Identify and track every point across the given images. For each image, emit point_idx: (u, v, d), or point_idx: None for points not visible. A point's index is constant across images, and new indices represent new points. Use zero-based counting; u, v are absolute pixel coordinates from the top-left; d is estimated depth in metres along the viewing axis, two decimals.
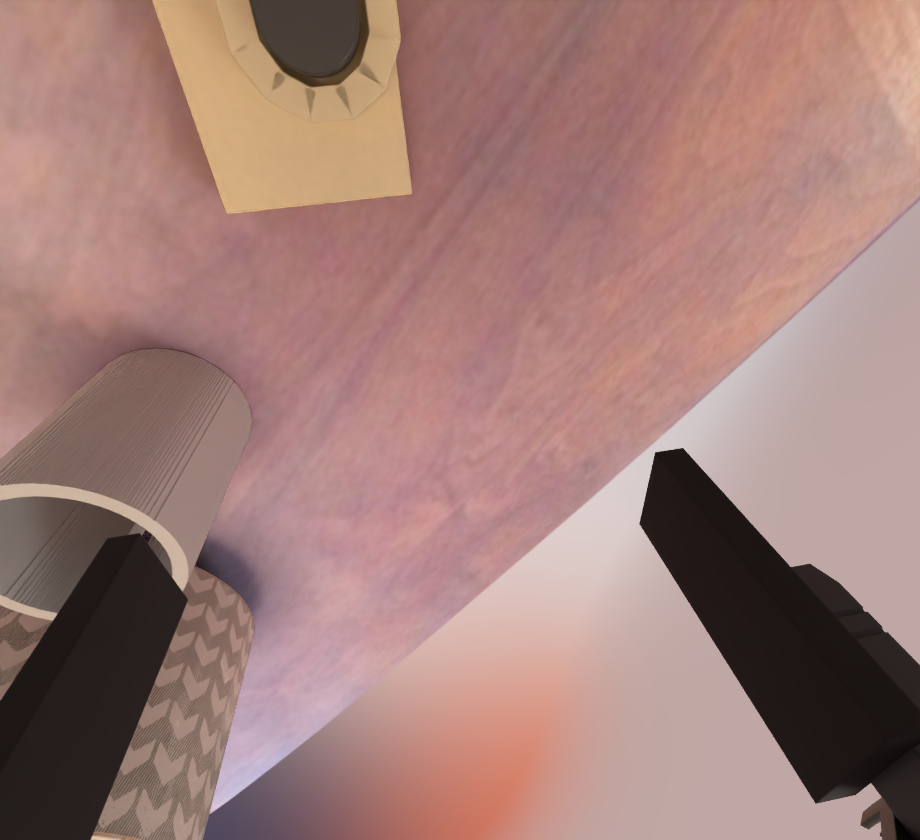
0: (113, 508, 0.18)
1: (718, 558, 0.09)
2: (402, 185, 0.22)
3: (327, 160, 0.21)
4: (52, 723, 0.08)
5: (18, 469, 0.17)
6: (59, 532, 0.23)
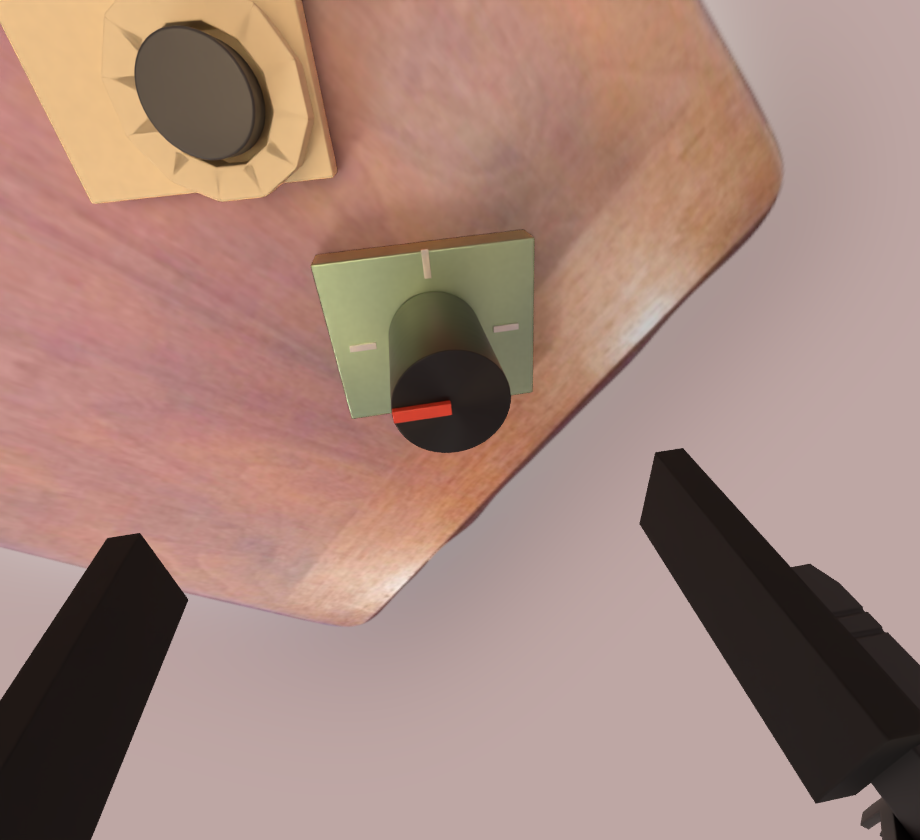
0: None
1: (718, 558, 0.09)
2: (96, 191, 0.18)
3: (85, 88, 0.16)
4: (52, 723, 0.08)
5: None
6: None
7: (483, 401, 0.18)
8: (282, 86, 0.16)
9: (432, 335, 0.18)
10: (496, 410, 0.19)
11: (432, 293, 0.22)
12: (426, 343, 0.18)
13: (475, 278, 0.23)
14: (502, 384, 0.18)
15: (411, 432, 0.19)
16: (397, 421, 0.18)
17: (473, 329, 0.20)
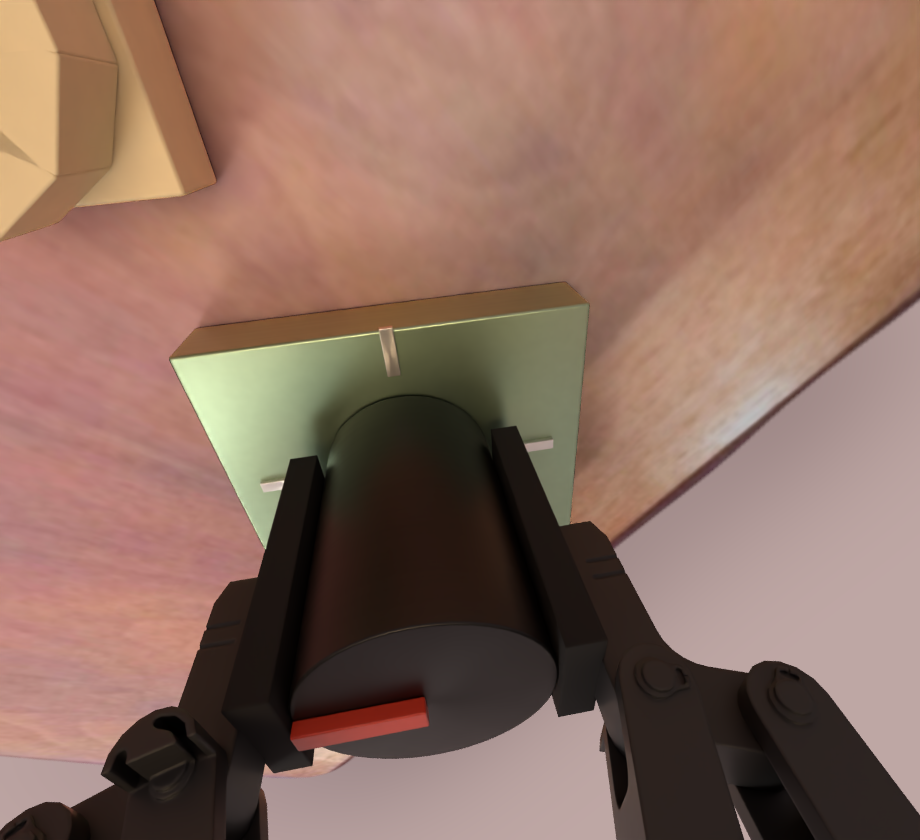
0: None
1: (515, 517, 0.11)
2: None
3: None
4: (301, 583, 0.10)
5: None
6: None
7: (497, 689, 0.08)
8: None
9: (385, 550, 0.08)
10: (525, 697, 0.09)
11: (402, 401, 0.12)
12: (369, 579, 0.08)
13: (481, 372, 0.13)
14: (542, 663, 0.08)
15: (343, 744, 0.09)
16: (305, 748, 0.08)
17: (477, 507, 0.10)
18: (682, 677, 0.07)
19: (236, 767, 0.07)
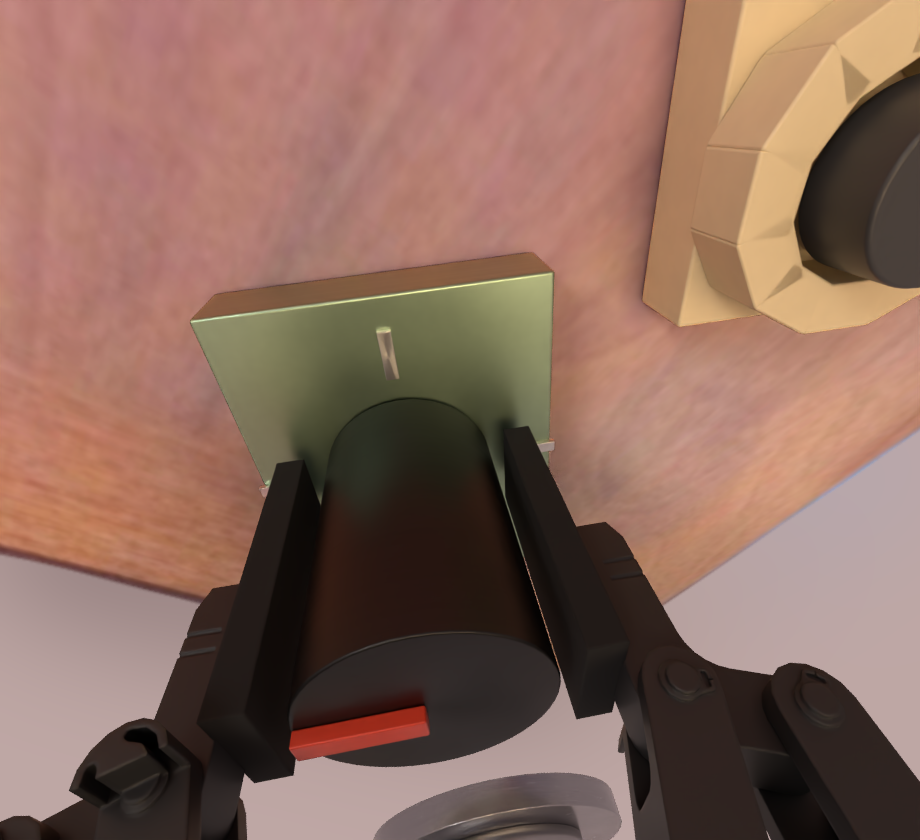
0: None
1: (529, 518, 0.11)
2: None
3: None
4: (283, 590, 0.10)
5: None
6: None
7: (499, 696, 0.08)
8: (852, 303, 0.11)
9: (384, 557, 0.08)
10: (527, 705, 0.09)
11: (402, 404, 0.12)
12: (368, 587, 0.08)
13: None
14: (543, 670, 0.08)
15: (343, 752, 0.09)
16: (304, 758, 0.08)
17: (477, 512, 0.09)
18: (707, 680, 0.07)
19: (212, 777, 0.07)
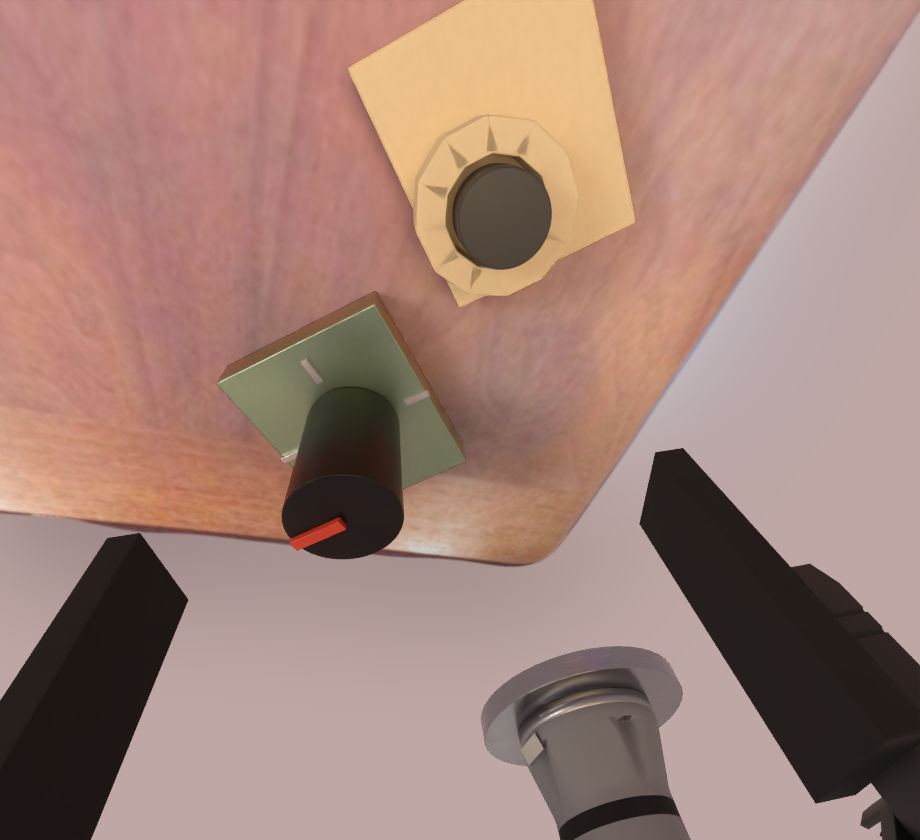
0: None
1: (718, 558, 0.09)
2: (363, 75, 0.16)
3: (460, 73, 0.17)
4: (52, 723, 0.08)
5: None
6: None
7: (371, 508, 0.19)
8: (522, 272, 0.19)
9: (307, 460, 0.19)
10: (389, 511, 0.19)
11: (329, 394, 0.23)
12: (300, 471, 0.18)
13: (420, 436, 0.26)
14: (381, 490, 0.18)
15: (320, 550, 0.20)
16: (298, 548, 0.19)
17: (354, 434, 0.20)
18: None
19: None
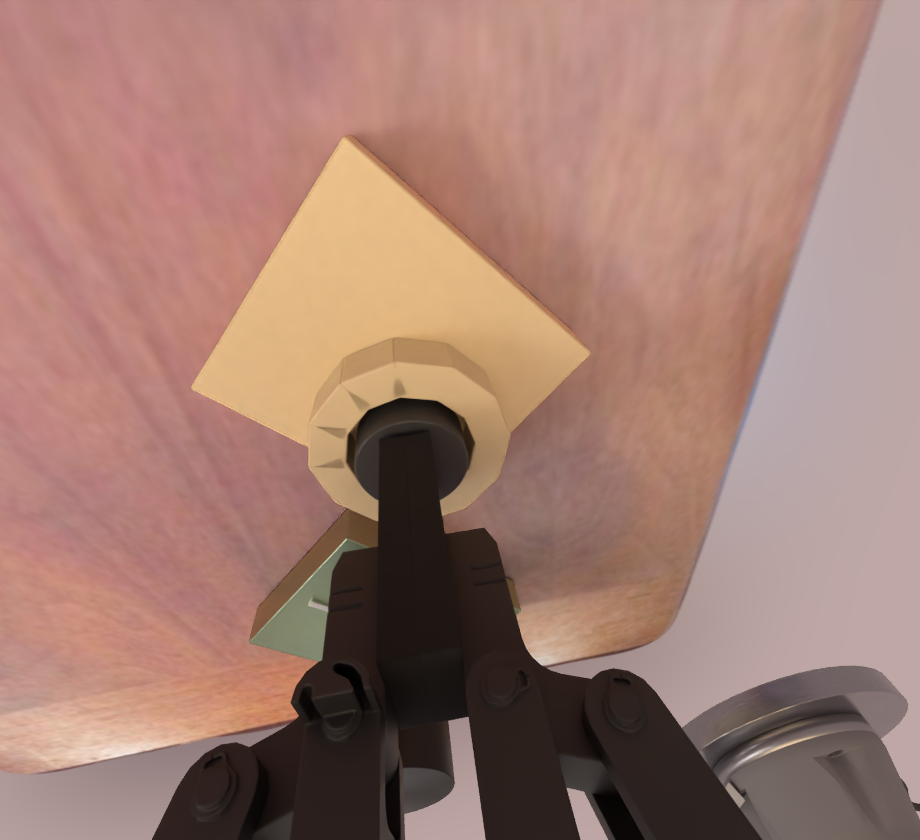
0: None
1: None
2: (208, 386, 0.14)
3: (300, 333, 0.14)
4: None
5: None
6: None
7: (412, 781, 0.17)
8: (472, 482, 0.16)
9: None
10: (432, 777, 0.17)
11: None
12: None
13: None
14: (411, 770, 0.16)
15: None
16: None
17: None
18: (523, 679, 0.07)
19: (389, 726, 0.08)
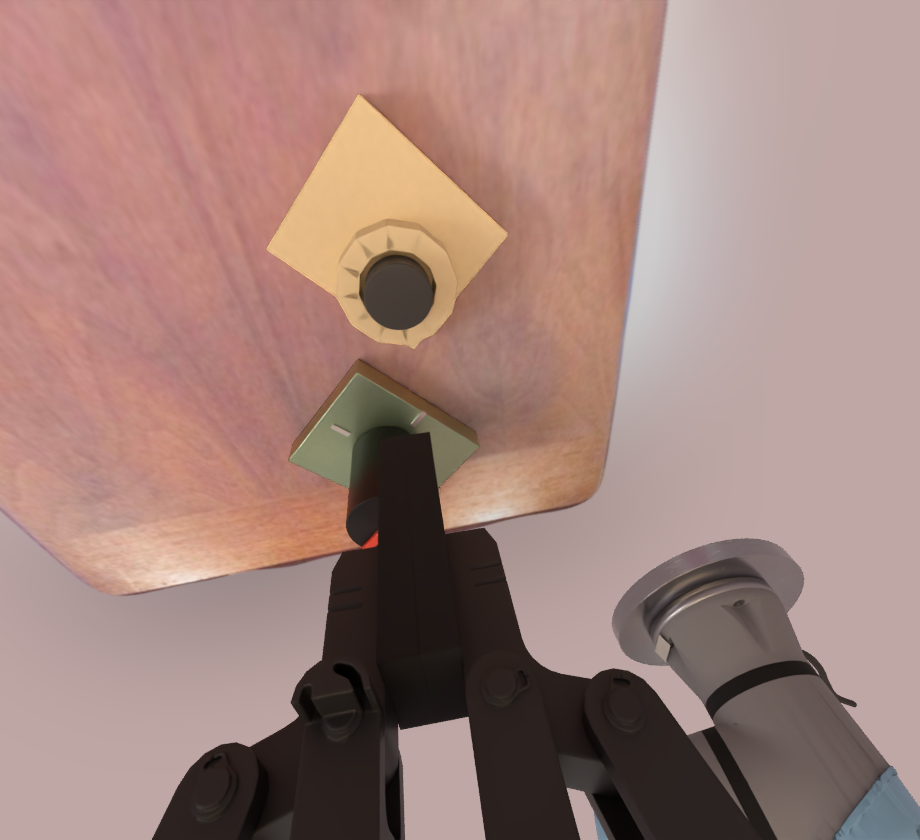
0: None
1: None
2: (277, 248, 0.24)
3: (332, 214, 0.23)
4: None
5: None
6: None
7: None
8: (436, 315, 0.26)
9: (351, 494, 0.28)
10: None
11: (358, 440, 0.32)
12: (349, 504, 0.27)
13: (435, 442, 0.33)
14: None
15: None
16: None
17: (375, 466, 0.28)
18: (523, 679, 0.07)
19: (389, 726, 0.08)
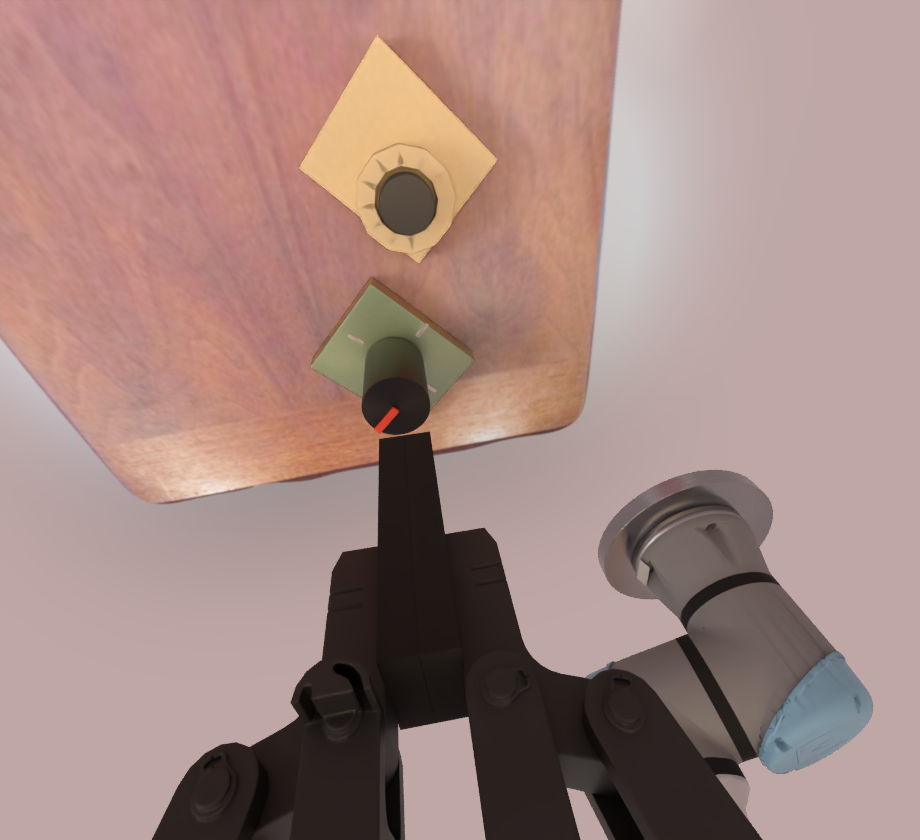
0: None
1: None
2: (307, 167, 0.29)
3: (353, 137, 0.29)
4: None
5: None
6: None
7: (407, 395, 0.32)
8: (437, 226, 0.31)
9: (365, 382, 0.33)
10: (418, 393, 0.32)
11: (371, 348, 0.37)
12: (364, 389, 0.33)
13: (437, 354, 0.39)
14: (407, 382, 0.32)
15: (393, 430, 0.34)
16: (380, 431, 0.33)
17: (386, 361, 0.34)
18: (523, 679, 0.07)
19: (389, 726, 0.08)
